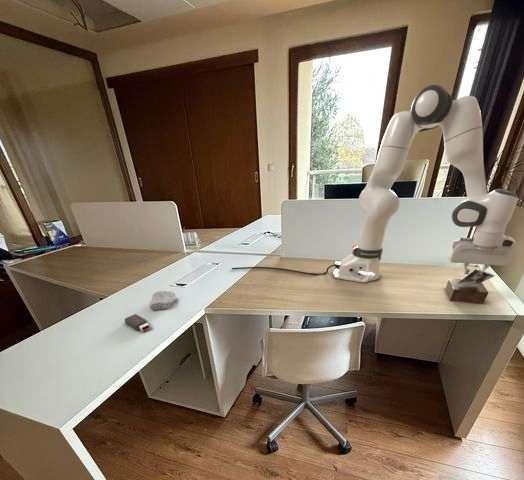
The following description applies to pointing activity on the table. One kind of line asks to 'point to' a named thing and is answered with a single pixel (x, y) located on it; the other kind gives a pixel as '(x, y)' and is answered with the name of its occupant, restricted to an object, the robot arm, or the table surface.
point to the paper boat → (476, 277)
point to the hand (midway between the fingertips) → (472, 274)
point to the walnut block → (466, 292)
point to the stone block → (162, 300)
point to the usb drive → (137, 323)
